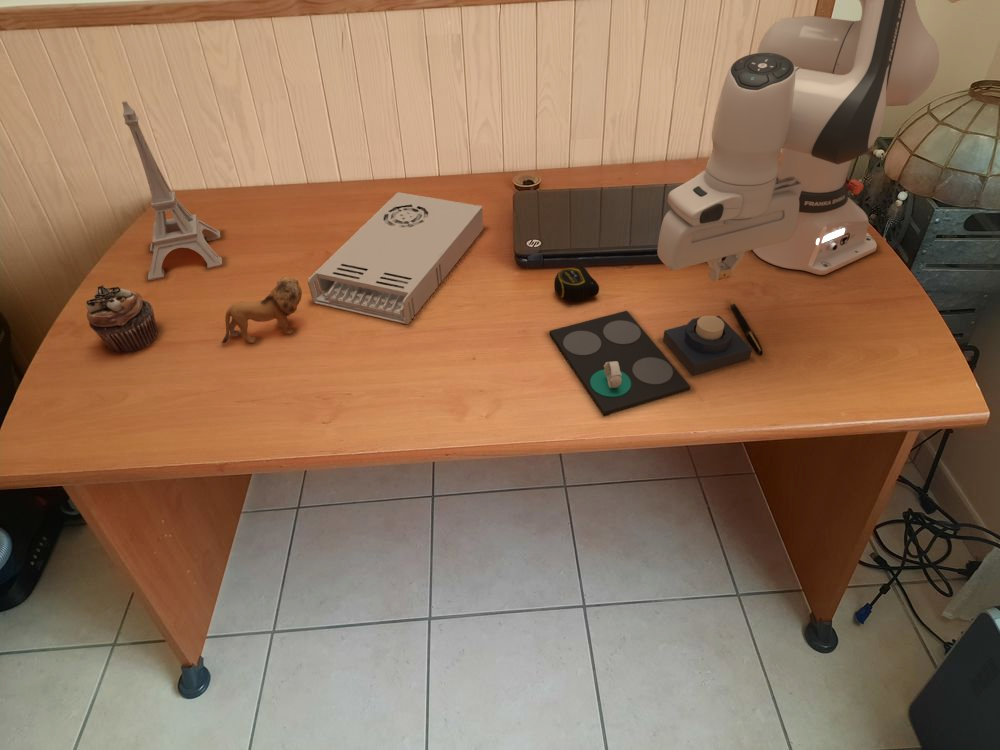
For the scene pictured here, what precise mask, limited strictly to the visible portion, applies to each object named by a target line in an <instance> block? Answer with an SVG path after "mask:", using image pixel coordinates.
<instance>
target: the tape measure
mask: <svg viewBox="0 0 1000 750" xmlns="http://www.w3.org/2000/svg"><path fill="white" fill-rule="evenodd" d="M553 287H554V291H555V293H556V294H557V296H559V298H561V299H563V300H565V301H568V302H582V301H585V300H587V299H589V298H593V297H595V296H597V295H598V294H599V292H600V284H598V282H597V281H596V280H595V279H594V278H593V277H592V276H591V275H590V273H589V271H588V270H587V268H585V266H583V265H582V264H581V265H577V266H575V267H566V268H563V269H561V270H559V271H558V272H557V273H556V275H555V277H554V286H553Z"/></svg>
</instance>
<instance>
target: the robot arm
mask: <svg viewBox="0 0 1000 750" xmlns="http://www.w3.org/2000/svg"><path fill="white" fill-rule="evenodd" d="M858 1H859V3H860V6H861V16H860V19H859V20H849V19H840V18H831V17H825V16H824V17H823V16H815V15H807V16H806V15H805V16H793V17H784V18H783V17H782V18H780V19H778V20H777V21H776V22H774V23H773V24H772V25H770V27H769V28H768V29H767V31H766V32H765V33H764V34H763V36H762V38H761V40H760V42H759V45H758V48H757V51H756V53H752V54H748V55H745V56H742V57H740V58H738V59H737V60H736V61H734V62H733V63H732V64H731V65H730V67H729V69H728V71H727V73H726V76H725V78H724V81H723V84H722V88H721V90H720V93H719V98H718V100H717V105H716V110H715V114H714V117H713V118H714V119H713V125H712V130H711V142H712V150H711V152H710V155H709V158H708V160H707V162H706V168H705V169H704V170H703V171H701V172H699V173H698V174H697V175H696V176H694V177H693V178H691V179H689V180H688V181H686V182H684V183H683V184H681V185H679V186H677V187H675V188H673V189H672V190H671V191H670V192H669V193H668V195H667V204H668V206H669V207H670V209H669V210H668V211H667V212H666V214H665V215H664V217H663V219H662V222H661V226H660V230H659V234H658V242H657V248H656V249H657V250H656V253H657V257H658V258H659V260H660V261H661V263H663V264H664V265H665V266H666V267H667V268H668V269H669V270H670V271H677V270H681V269H684V268H689V267H691V266H692V267H693V266H696V265H700V264H704V263H707V265H708V267H709V268H708V277H709V279H710V280H711V281H712V282H717V281H721V280H725V279H729V278H732V277H733V276H734V272H735V268H736V267H737V266H738V265H739V263H740V262H741V261H742V260H743V258H744V257H745V254H746V252H748V251H752V252H753V253H754V254H755V255H756V256H757V257H758V258H760V259H761V260H763V261H765V262H766V263H768V264H771V265H773V266H776V267H780V268H784V269H788V270H797V271H804V272H806V273H807V272H808V273H811V274H814V275H819V276H825V275H827V274H829V273H832V272H833V271H836V270H838V269H840V268H843V267H845V266H848V265H849V264H851V263H854V262H856V261H857V260H860V259H862V258H864V257H866V256H868V255H871V254H873V253H875V252H876V251H877V248H878V244H877V241H876V240H875V239H874V237H873V236H872V235H871V234H870V233H869V232H868V230H869V217H868V215H867V213H866V212H865V211H864V210H863V209H862V208H861V207H860V204H861V202H860V201H859V200H856V199H853V198H851V197H849V193H848V192H849V191H850V192H851V193H852V194H854V195H859V194H860V193H861V192H862V191H863V189H864V184H863V183H862V182H860V181H858V180H857V179H855V178H852V179H848V173H849V171H850V167H851V164H852V162H853V160H855V159H857V158H859V157H861V156H863V155H864V154H866V153H868V152H869V151H870V150H871V149H872V147H873V145H874V144H875V143H876V141H877V139H878V138H879V135H880V133H881V131H882V127H883V125H884V121H885V114H886V107H900V106H908V105H911V104H912V103H914V102H915V101H916V100H918V99H920V98H921V96H922V95H924V93H926V91H927V90H928V89H929V88H930V86H931V85H932V84H933V82H934V80H935V78H936V75H937V73H938V70H939V65H940V52H939V51H940V50H939V48H938V47H939V46H938V45H937V44H938V43H937V42H936V40H935V38H934V37H933V35H932V34H930V32H929V31H928V30H927V29H926V27H925V25H924V23H923V21H922V19H921V16H920V14H919V11H918V6H917V3H916V0H858ZM779 155H780V157H779ZM723 258H725V259H724V261H722V260H723Z"/></svg>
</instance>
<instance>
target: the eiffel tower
mask: <svg viewBox="0 0 1000 750" xmlns="http://www.w3.org/2000/svg"><path fill="white" fill-rule="evenodd" d="M121 104H122V107H123V113H122V115H123V116H122V117H123V118H124V124H125V125H126V126H128V128H129V130H130V133H131V135H132V138H133V140H134V144H135V146H136V149H137V152H138V155H139V158H140V161H141V164H142V167H143V170H144V173H145V177H146V180H147V184H148V187H149V191H150V196H151V205H150V206H151V207H152V208H153V209H154V215H155V216H154V217H155V218H154V220H155V221H153V229H152V230H153V231H152V240H151V241H152V242H151V243H150V252H151V253H152V257H151V263H150V268H149V271H148V274H147V275H148V276H147V280H148V281H149V282H150V281H154V280H160V279H164V278H165V269H164V268H163V262H164V260H165V258H166V256H168V254H169V253H170V252H172V251H173V250H177V249H181V248H182V249H183V248H184V249H190V250H192V251H195V252H196V253H197V254H199V255H200V256H201V257H202V258H203V260H204V261H205V262H206V267H207V269H214V268H218V267H223V258H222V256H219V255H218V254H217V253H216V252H215V250H214V249H213V248H212V247H211V246H210V245H209V243H208V242H211V241H214V240H220V239H221V231H220V230H219V229H216V228H215V227H212V226H211V225H210V224H208V223H206V222H204V221H202V220H200V219H199V218H198V215H197V213H195V214H194V213H193V214H192V213H191V212H190V211H188V209H187V208H186V207H185V206H184V205H183V204H182V203H181V202H180V200H179V199H178V198H177V197H176V191H172V190H171V188H170V186H169V184H168V183H167V180H166V179H165V177H164V175H163V173H162V171H161V169H160V168H159V166H158V163H157V161H156V160H155V158H154V156H153V153H152V151H151V149H150V146H149V144H148V143H147V140H146V139H145V136H144V134H143V131H142V129H141V127H140V124H139V116H138V115H137V114H136V112H135V111H136V110H135V109H134V108H133V107H131V106H130V104H129V103H128V101H127V100H122V101H121ZM168 211H169V212H170V214H171V215H172V217H173V218H167V216H166V212H168Z"/></svg>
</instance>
